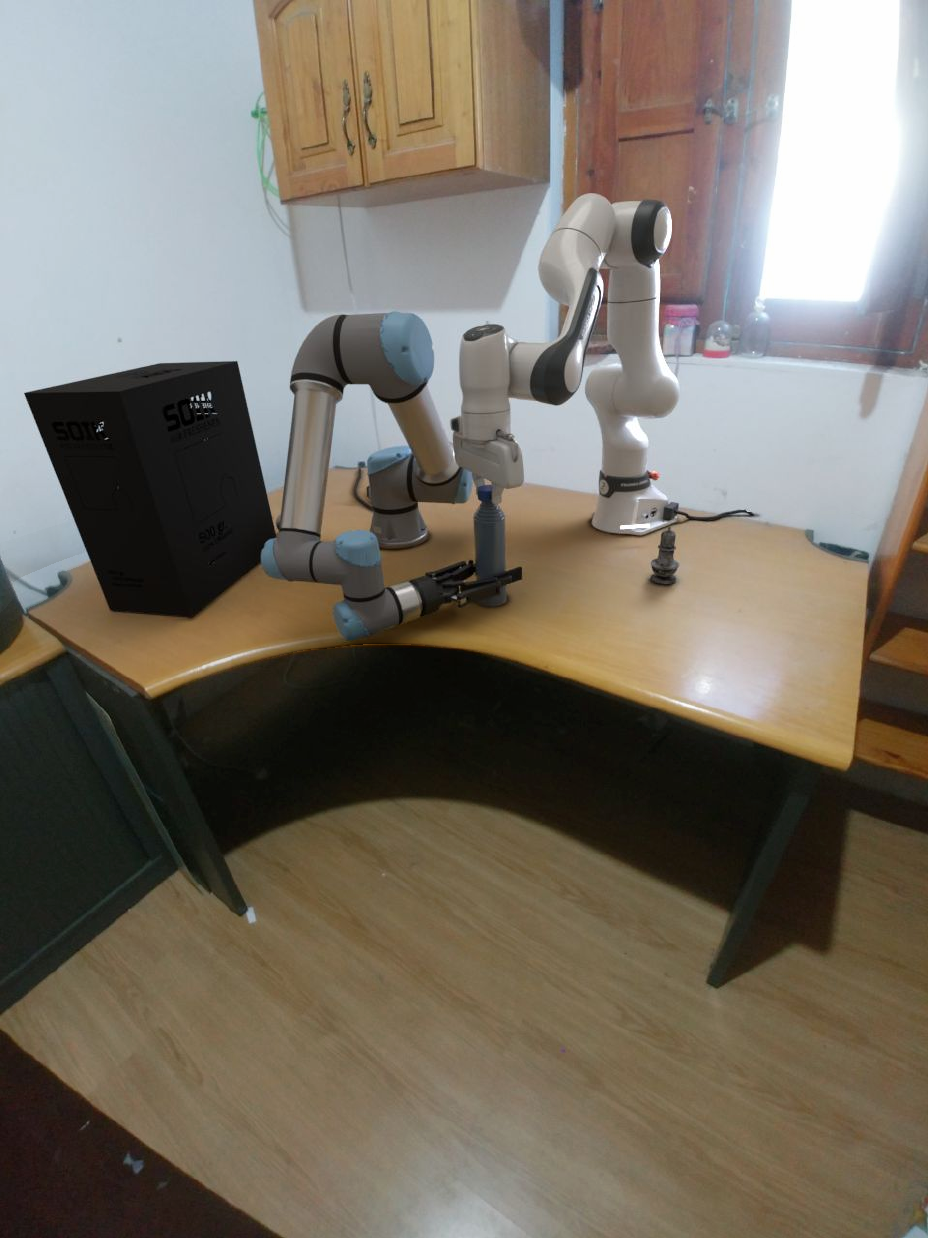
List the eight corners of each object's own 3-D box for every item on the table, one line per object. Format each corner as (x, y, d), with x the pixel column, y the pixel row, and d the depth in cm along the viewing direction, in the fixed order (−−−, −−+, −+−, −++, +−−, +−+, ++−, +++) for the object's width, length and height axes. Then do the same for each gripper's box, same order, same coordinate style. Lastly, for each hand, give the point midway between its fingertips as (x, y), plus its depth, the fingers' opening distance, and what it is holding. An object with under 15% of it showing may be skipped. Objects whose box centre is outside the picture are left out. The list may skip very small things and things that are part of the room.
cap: (492, 493, 118) (492, 483, 117) (503, 499, 115) (503, 488, 114) (474, 497, 117) (473, 487, 116) (484, 503, 113) (483, 492, 112)
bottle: (497, 590, 130) (494, 482, 118) (512, 601, 125) (510, 491, 114) (471, 597, 128) (466, 488, 116) (485, 609, 123) (481, 497, 111)
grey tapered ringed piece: (678, 585, 127) (686, 532, 121) (649, 584, 129) (655, 531, 123) (675, 573, 132) (683, 521, 126) (648, 572, 134) (653, 520, 128)
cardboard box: (191, 617, 126) (119, 391, 104) (110, 610, 131) (23, 392, 108) (278, 546, 158) (237, 360, 135) (210, 542, 162) (159, 363, 140)
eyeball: (273, 537, 164) (268, 516, 161) (287, 528, 169) (282, 508, 166) (291, 539, 161) (286, 518, 158) (305, 530, 166) (301, 510, 163)
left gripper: (393, 597, 125) (485, 567, 135) (440, 636, 111) (539, 600, 121) (389, 564, 121) (484, 536, 131) (437, 601, 107) (540, 566, 117)
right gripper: (533, 433, 102) (532, 510, 109) (474, 414, 118) (477, 483, 125) (501, 439, 100) (502, 518, 107) (445, 418, 115) (450, 489, 122)
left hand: (510, 567), depth 126 cm, fingers closed on bottle, 6 cm apart
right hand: (488, 499), depth 116 cm, fingers closed on cap, 4 cm apart
